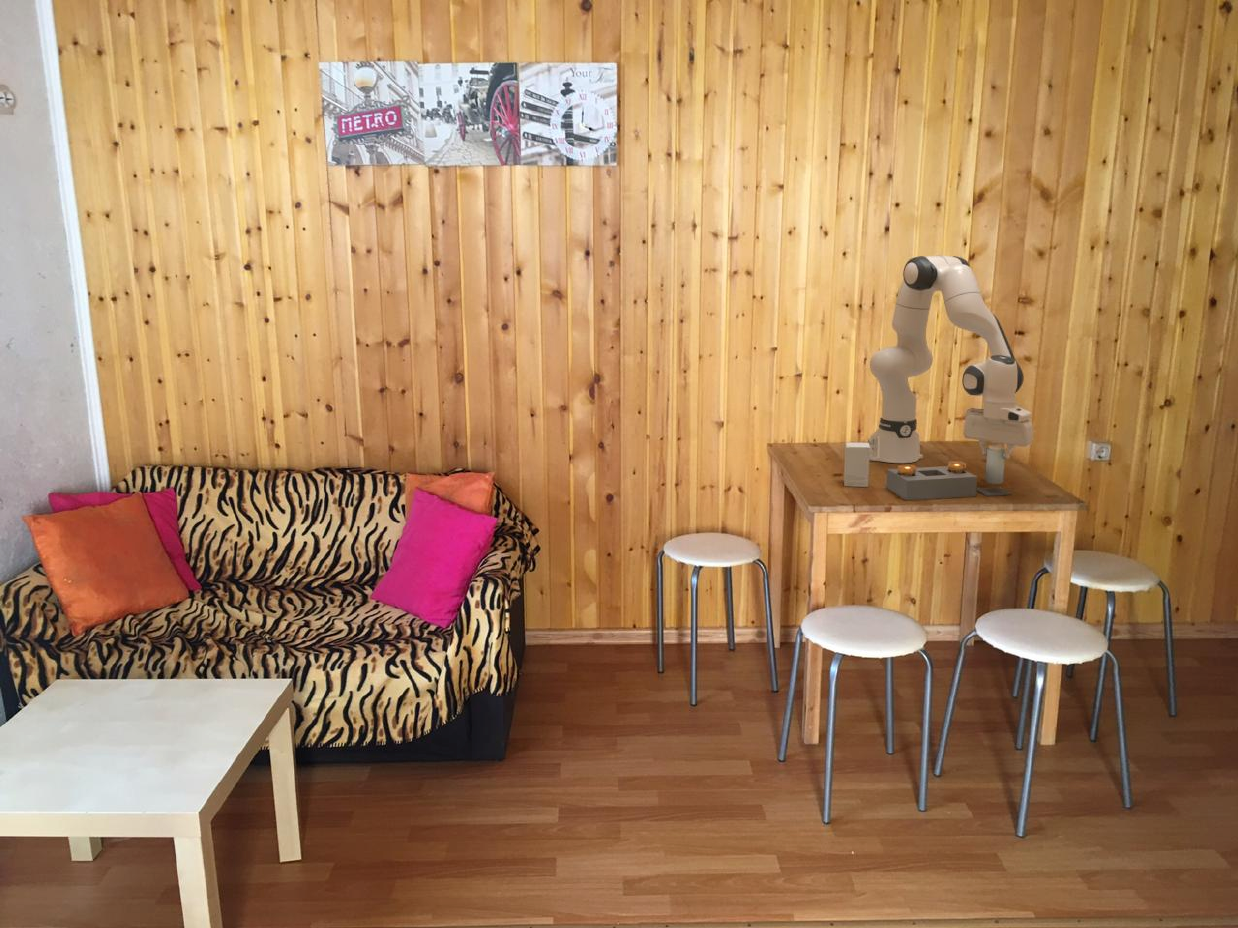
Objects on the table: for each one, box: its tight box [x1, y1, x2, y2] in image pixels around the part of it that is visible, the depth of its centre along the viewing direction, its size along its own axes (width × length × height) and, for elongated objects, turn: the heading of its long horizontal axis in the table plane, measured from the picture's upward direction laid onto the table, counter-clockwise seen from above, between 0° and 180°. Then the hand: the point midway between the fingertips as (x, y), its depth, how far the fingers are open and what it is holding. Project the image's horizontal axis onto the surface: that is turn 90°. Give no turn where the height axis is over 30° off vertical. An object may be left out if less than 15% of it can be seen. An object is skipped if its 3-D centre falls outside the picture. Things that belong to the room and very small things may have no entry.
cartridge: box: [984, 443, 1006, 485], centre depth 302 cm, size 5×5×11 cm
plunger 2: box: [947, 460, 967, 474], centre depth 305 cm, size 5×5×8 cm
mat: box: [976, 486, 1013, 497], centre depth 304 cm, size 8×8×1 cm
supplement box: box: [843, 441, 870, 488], centre depth 314 cm, size 7×7×13 cm
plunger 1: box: [897, 463, 917, 477], centre depth 303 cm, size 5×5×8 cm
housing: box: [885, 465, 978, 501], centre depth 305 cm, size 14×22×6 cm, turn 99°
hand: (995, 456), depth 301 cm, fingers closed on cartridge, 5 cm apart
